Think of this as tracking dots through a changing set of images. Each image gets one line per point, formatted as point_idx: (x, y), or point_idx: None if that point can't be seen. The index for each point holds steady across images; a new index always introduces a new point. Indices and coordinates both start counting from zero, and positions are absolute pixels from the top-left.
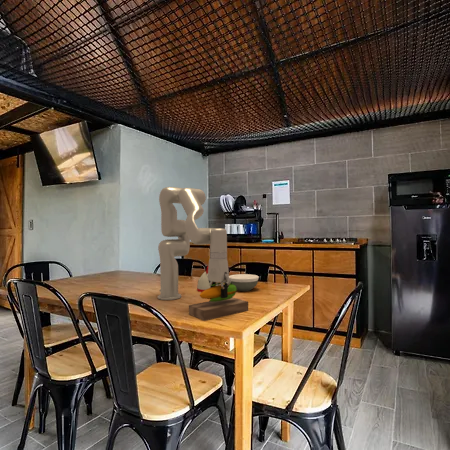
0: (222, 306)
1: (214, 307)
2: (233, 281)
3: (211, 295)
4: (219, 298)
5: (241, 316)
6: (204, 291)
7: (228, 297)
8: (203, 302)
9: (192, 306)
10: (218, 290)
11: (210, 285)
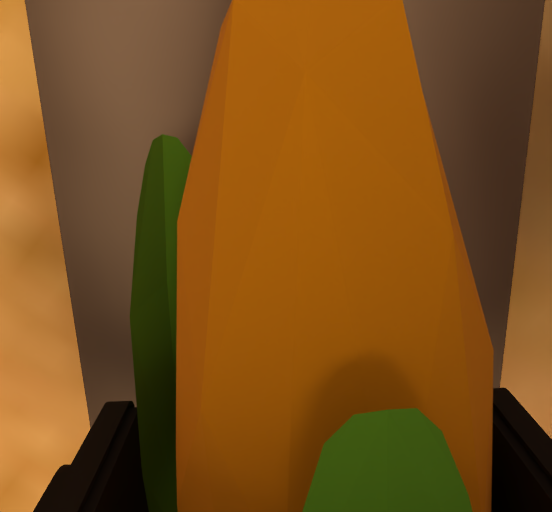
0: (97, 312)
1: (114, 180)
2: None
3: (184, 229)
4: (156, 369)
5: (4, 414)
6: (285, 51)
7: None
8: (513, 222)
9: None
10: (184, 490)
11: (379, 431)
